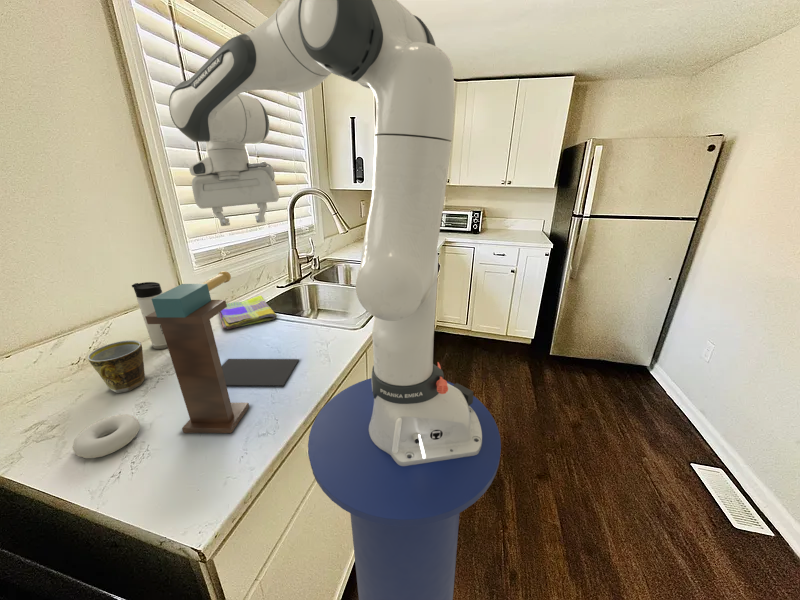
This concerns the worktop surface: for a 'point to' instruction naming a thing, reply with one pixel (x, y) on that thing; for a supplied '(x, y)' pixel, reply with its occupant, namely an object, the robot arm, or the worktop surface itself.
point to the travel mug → (150, 310)
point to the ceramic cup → (120, 365)
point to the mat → (258, 371)
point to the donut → (96, 446)
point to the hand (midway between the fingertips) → (243, 224)
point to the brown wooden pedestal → (200, 370)
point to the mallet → (187, 297)
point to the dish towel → (246, 313)
